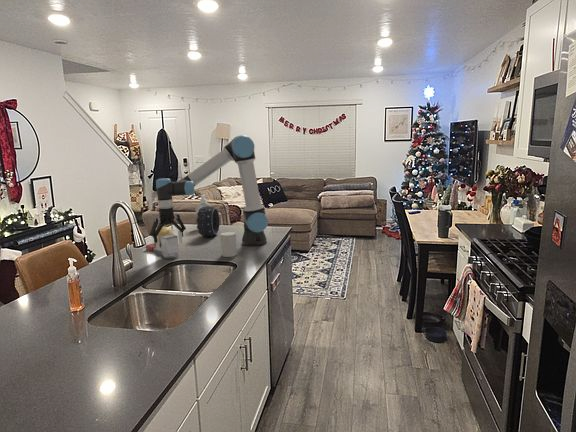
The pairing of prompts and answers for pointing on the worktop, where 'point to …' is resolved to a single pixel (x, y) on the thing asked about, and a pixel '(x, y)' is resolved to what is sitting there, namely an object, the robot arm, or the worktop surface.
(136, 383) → the worktop surface
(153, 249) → the ratchet
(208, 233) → the ring
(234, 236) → the cup
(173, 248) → the frosted translucent cube
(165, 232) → the sculpture
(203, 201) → the soap bottle
